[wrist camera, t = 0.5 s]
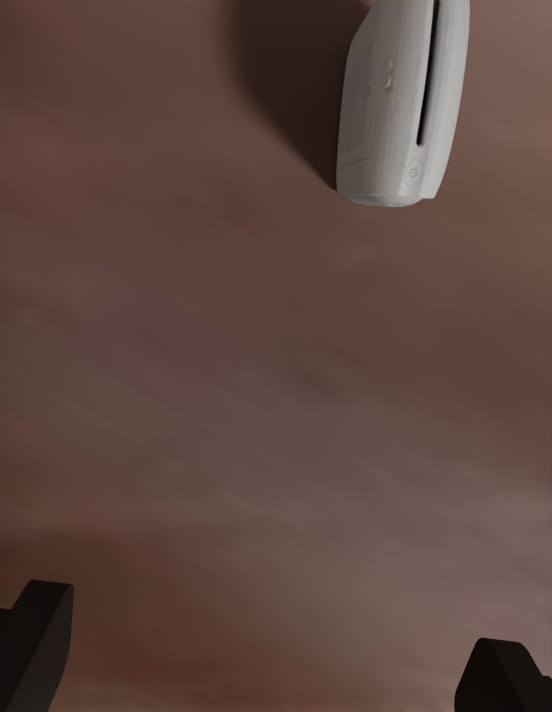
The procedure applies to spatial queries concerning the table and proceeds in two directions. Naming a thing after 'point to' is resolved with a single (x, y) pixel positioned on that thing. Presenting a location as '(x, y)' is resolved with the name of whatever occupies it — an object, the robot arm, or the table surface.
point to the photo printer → (401, 100)
